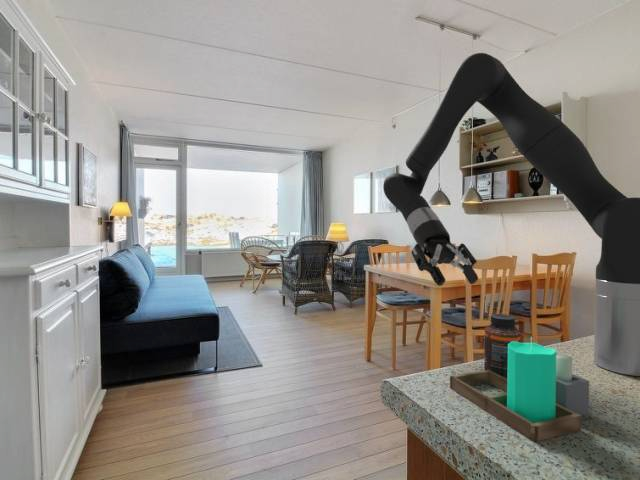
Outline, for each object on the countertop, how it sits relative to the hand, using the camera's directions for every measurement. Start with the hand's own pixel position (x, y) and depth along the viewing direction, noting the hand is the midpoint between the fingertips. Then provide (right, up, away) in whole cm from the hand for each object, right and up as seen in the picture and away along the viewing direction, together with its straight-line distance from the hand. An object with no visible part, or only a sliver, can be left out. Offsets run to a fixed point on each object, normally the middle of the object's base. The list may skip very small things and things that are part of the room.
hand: (458, 282), depth 75 cm
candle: (0, -17, -25) cm, 30 cm away
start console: (+7, -17, -22) cm, 29 cm away
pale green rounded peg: (+7, -14, -22) cm, 28 cm away
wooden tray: (-1, -17, -21) cm, 27 cm away
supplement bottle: (+4, -16, -11) cm, 20 cm away
